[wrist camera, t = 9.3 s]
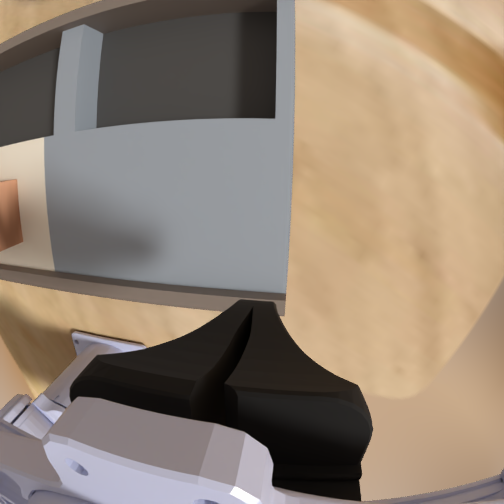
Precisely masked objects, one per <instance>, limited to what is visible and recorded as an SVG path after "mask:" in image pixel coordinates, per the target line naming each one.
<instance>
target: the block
mask: <svg viewBox="0 0 504 504" xmlns="http://www.w3.org/2000/svg"><path fill="white" fill-rule="evenodd" d="M22 242H23V236H22V228H21V220H20V211H19V200H18V186H17V179H14V180H6V181H0V252H1V251H3V250H5V249H8V248H10V247H12V246H15V245H17V244H19V243H22Z"/></svg>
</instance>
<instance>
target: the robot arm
mask: <svg viewBox="0 0 504 504" xmlns="http://www.w3.org/2000/svg"><path fill="white" fill-rule="evenodd" d="M72 339H73V343H74V347H75V350H76V354H77V357H76V358H75V359H74V360H73V361H72V363H71V364H70V365H69V366H68V367H67V368H66V369H65V370H64V371H63V372H62V373H61V374H60V375H59V376H58V377H57V378H56V379H55V380H54V381H53V382H52V384H51V385H50V386H49V387H48V388H47V389H46V390H45V391H44V392H43V393H41V394H40V395H39V396H38V397H37V398H36V399H35V400H34V401H33V403H32V404H31V403H30V401H31V400H32V399H31V398H30V396H29V395H27V394H25V395H22V394H17V395H16V396H14V397H13V398H12V399H11V400H10V401H9V402H8V403H7V404H6V405H5V406H4V407H3V408H2V409H1V410H0V504H504V469H503V470H502V472H501V474H499V475H496V476H493V477H490V478H486V479H483V480H480V481H476V482H473V483H469V484H465V485H461V486H457V487H453V488H449V489H445V490H440V491H435V492H430V493H425V494H419V495H413V496H407V497H400V498H392V499H384V500H373V501H361V494H360V484H359V479H360V478H361V476H362V470H361V461H362V458H363V456H364V454H365V452H366V449H367V447H368V445H369V442H370V440H371V436H372V431H373V427H372V420H371V416H370V412H369V409H368V406H367V404H366V402H365V399H364V397H363V395H362V392H361V390H360V388H359V386H358V385H356V384H354V383H352V382H349V381H347V380H345V379H343V378H341V377H338V376H336V375H334V374H333V373H331V372H329V371H328V370H326V369H324V368H323V367H321V366H320V365H319V364H317V363H316V362H314V361H313V360H312V359H311V358H310V357H308V356H307V355H306V354H305V353H304V352H303V351H302V350H301V349H300V348H299V347H298V345H297V344H296V343H295V342H294V340H293V339H292V338H291V336H290V335H289V333H288V332H287V330H286V328H285V326H284V325H283V323H282V321H281V319H280V317H279V314H278V311H277V308H276V304H275V303H274V302H272V301H257V300H244V299H240V300H238V301H237V302H236V303H234V304H233V305H232V306H231V307H229V308H228V309H227V310H225V311H224V312H223V313H221V314H220V315H219V316H217V317H216V318H214V319H213V320H211V321H210V322H208V323H206V324H205V325H203V326H202V327H200V328H198V329H196V330H194V331H193V332H191V333H188V334H186V335H184V336H182V337H180V338H177V339H175V340H172V341H169V342H166V343H163V344H160V345H157V346H153V347H149V348H146V346H144V345H142V344H137V343H131V342H126V341H121V340H116V339H111V338H106V337H101V336H96V335H91V334H87V333H82V332H78V331H74V332H73V333H72Z"/></svg>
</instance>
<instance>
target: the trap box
mask: <svg viewBox="0 0 504 504" xmlns="http://www.w3.org/2000/svg"><path fill="white" fill-rule="evenodd" d="M294 100H295V0H102V1H99V2H96V3H93V4H90V5H87V6H84V7H81V8H78V9H75V10H73V11H70V12H68V13H65V14H62V15H60V16H58V17H55V18H53V19H50V20H48V21H46V22H43V23H41V24H39V25H37V26H35V27H33V28H30V29H28V30H26V31H24V32H22V33H20V34H18V35H16V36H14V37H12V38H11V39H9V40H7V41H5V42H3V43H1V44H0V181H6V180H14V179H17V186H18V200H19V211H20V220H21V228H22V236H23V242H22V243H19V244H17V245H15V246H12V247H10V248H8V249H5V250H3V251H1V252H0V279H1V280H6V281H11V282H16V283H21V284H26V285H32V286H37V287H43V288H48V289H54V290H60V291H66V292H72V293H78V294H85V295H91V296H98V297H104V298H111V299H119V300H126V301H133V302H141V303H149V304H157V305H165V306H174V307H183V308H193V309H202V310H212V311H223V312H224V311H225V310H227V309H228V308H229V307H231V306H232V305H233V304H234V303H236V302H237V301H238V300H240V299H244V300H257V301H272V302H274V303H275V304H276V308H277V311H278V314H279V316H284V314H285V301H286V287H287V271H288V255H289V237H290V218H291V197H292V172H293V142H294Z"/></svg>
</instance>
